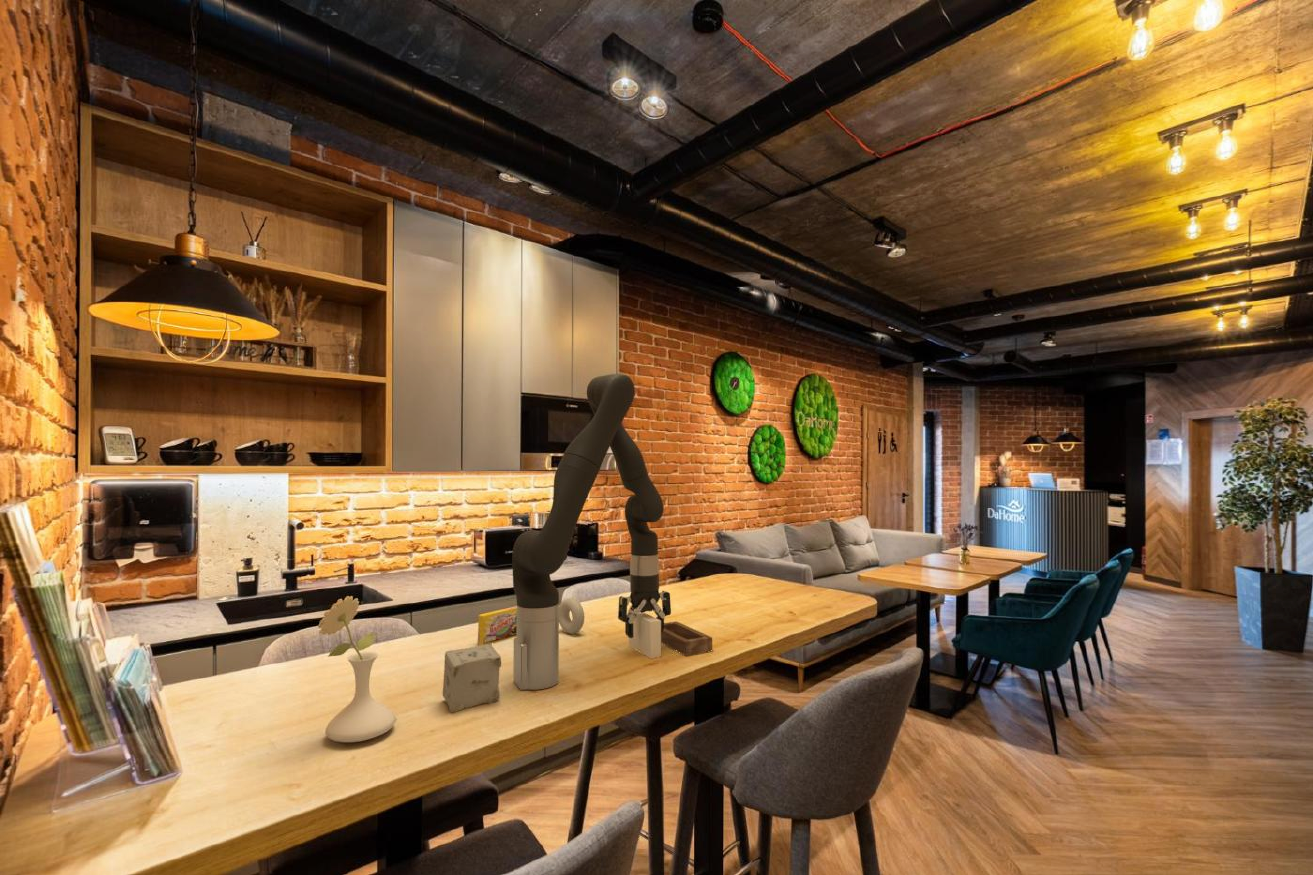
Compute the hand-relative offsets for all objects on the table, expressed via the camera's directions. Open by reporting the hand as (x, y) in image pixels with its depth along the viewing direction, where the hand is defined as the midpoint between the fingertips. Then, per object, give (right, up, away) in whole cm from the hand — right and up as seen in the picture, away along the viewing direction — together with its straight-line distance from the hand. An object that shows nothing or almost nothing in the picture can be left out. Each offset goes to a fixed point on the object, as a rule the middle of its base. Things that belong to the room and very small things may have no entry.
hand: (645, 634), depth 153 cm
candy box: (-39, -5, +10) cm, 41 cm away
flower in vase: (-51, -2, -48) cm, 69 cm away
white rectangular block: (0, -4, 0) cm, 4 cm away
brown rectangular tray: (+9, -4, +5) cm, 12 cm away
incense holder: (-35, -3, -33) cm, 48 cm away
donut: (-21, -5, +15) cm, 27 cm away
